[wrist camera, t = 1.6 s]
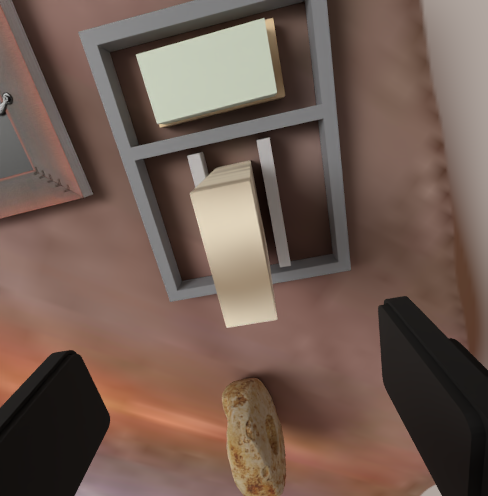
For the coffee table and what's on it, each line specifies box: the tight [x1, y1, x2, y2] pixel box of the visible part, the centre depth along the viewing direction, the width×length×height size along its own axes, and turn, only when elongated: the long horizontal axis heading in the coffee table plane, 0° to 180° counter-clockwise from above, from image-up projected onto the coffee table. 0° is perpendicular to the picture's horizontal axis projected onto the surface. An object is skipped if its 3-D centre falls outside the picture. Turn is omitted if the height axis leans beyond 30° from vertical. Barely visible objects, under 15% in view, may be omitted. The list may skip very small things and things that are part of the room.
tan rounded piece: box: [222, 378, 286, 496], centre depth 30 cm, size 10×4×10 cm, turn 24°
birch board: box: [190, 160, 277, 328], centre depth 21 cm, size 8×3×12 cm, turn 12°
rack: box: [78, 0, 351, 302], centre depth 25 cm, size 22×17×2 cm
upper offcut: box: [136, 18, 277, 125], centre depth 21 cm, size 4×9×2 cm, turn 103°
